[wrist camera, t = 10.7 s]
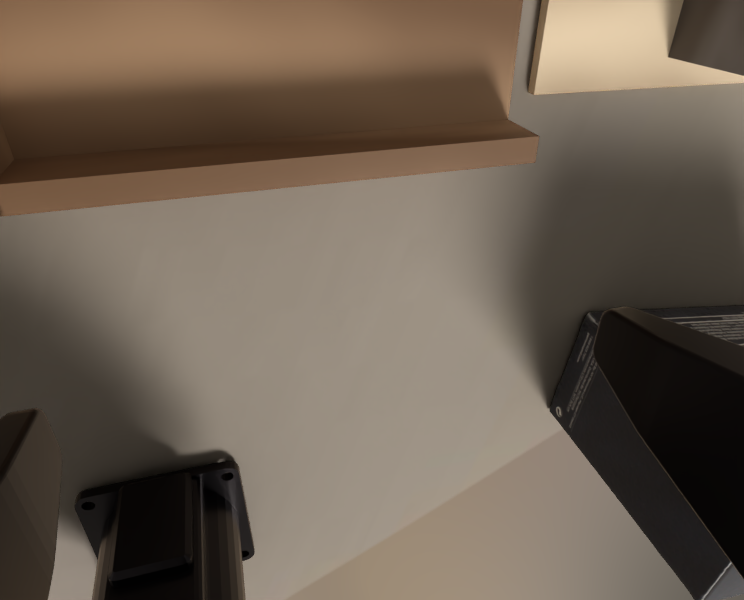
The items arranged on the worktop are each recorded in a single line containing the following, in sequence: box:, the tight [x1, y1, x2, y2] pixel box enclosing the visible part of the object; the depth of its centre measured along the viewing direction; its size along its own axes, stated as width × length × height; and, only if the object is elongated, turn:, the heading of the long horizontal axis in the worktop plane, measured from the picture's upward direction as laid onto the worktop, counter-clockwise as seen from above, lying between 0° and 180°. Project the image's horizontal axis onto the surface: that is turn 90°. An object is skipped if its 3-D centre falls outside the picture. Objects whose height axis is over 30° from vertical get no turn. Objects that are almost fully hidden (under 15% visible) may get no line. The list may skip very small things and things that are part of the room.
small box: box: [550, 306, 744, 600], centre depth 24 cm, size 11×6×10 cm, turn 82°
